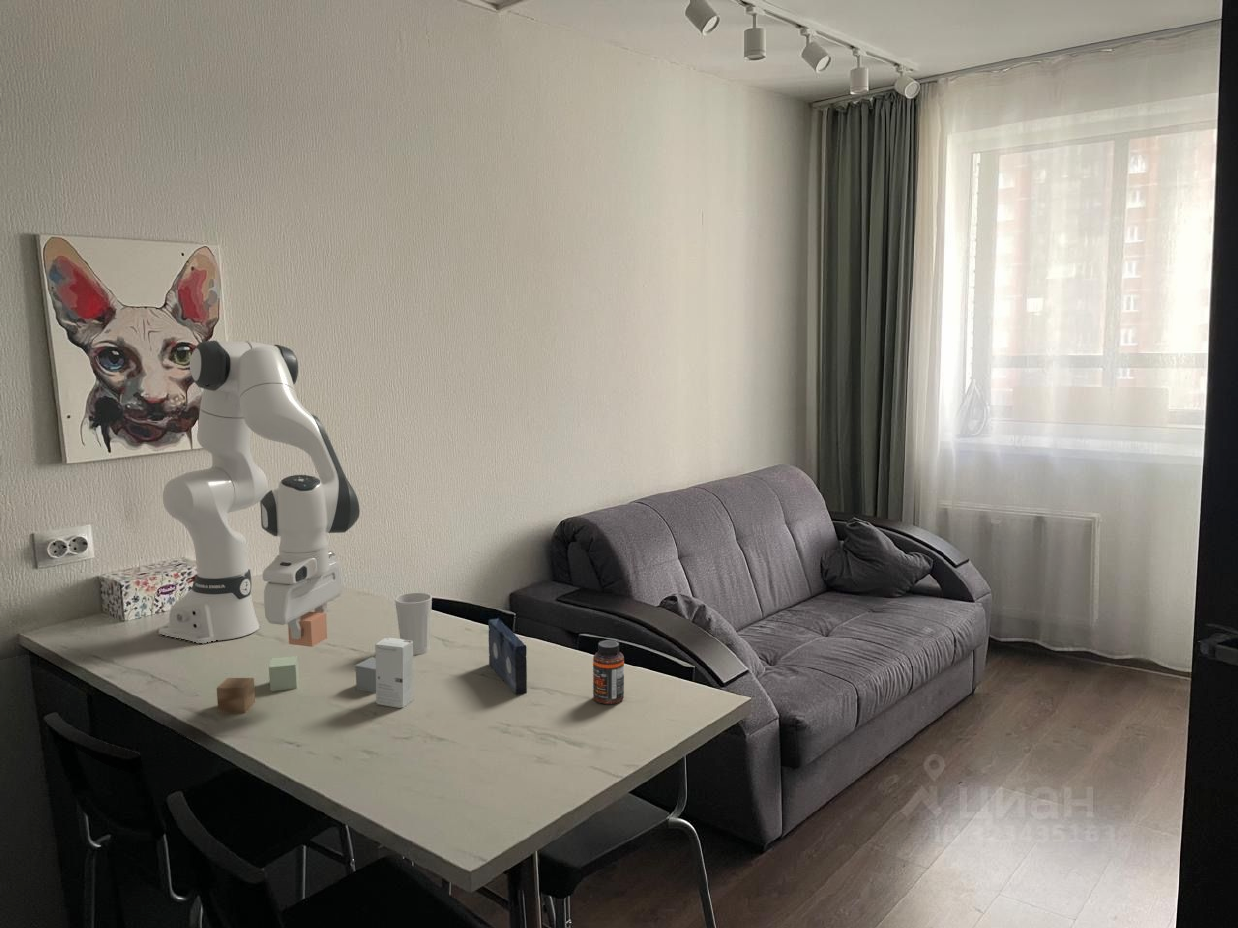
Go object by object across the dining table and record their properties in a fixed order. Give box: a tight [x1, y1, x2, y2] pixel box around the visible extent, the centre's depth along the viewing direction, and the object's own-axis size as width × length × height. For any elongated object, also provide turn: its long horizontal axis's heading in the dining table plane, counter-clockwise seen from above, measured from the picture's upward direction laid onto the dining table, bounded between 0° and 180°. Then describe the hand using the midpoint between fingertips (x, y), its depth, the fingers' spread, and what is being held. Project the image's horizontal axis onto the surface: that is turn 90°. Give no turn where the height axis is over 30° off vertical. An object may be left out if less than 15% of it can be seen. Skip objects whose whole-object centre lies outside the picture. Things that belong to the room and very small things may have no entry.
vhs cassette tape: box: [488, 617, 528, 696], centre depth 192 cm, size 18×3×10 cm, turn 23°
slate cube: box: [355, 656, 376, 694], centre depth 188 cm, size 5×5×5 cm
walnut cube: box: [216, 677, 256, 714], centre depth 179 cm, size 5×5×5 cm
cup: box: [394, 592, 433, 656], centre depth 208 cm, size 8×8×12 cm
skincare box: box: [374, 637, 414, 709], centre depth 180 cm, size 6×4×12 cm
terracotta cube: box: [287, 611, 328, 648], centre depth 180 cm, size 5×5×5 cm
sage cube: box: [268, 655, 300, 692], centre depth 189 cm, size 5×5×5 cm
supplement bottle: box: [592, 639, 625, 705], centre depth 181 cm, size 6×6×11 cm
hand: (307, 632), depth 180 cm, fingers closed on terracotta cube, 5 cm apart
